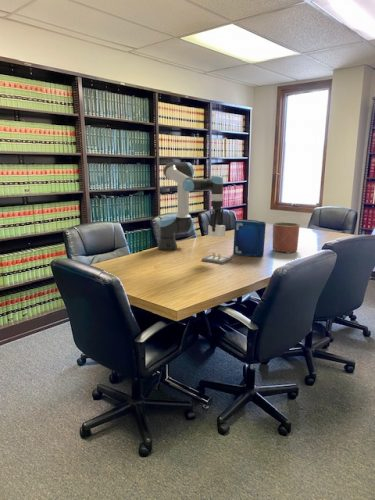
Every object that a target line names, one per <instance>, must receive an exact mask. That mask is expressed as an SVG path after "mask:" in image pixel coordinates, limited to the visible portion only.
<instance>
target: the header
mask: <svg viewBox="0 0 375 500" xmlns="http://www.w3.org/2000/svg"><path fill="white" fill-rule="evenodd" d="M201 261H203V262H206V263H207V262H208V263H214V264H220V265H224V264H227V263H228V262H230V261H232V257H227V256H222V255H221V252H220V253H218V255H216V252H212V254H210V255H207V256H205V257H203V258H201Z"/></svg>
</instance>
